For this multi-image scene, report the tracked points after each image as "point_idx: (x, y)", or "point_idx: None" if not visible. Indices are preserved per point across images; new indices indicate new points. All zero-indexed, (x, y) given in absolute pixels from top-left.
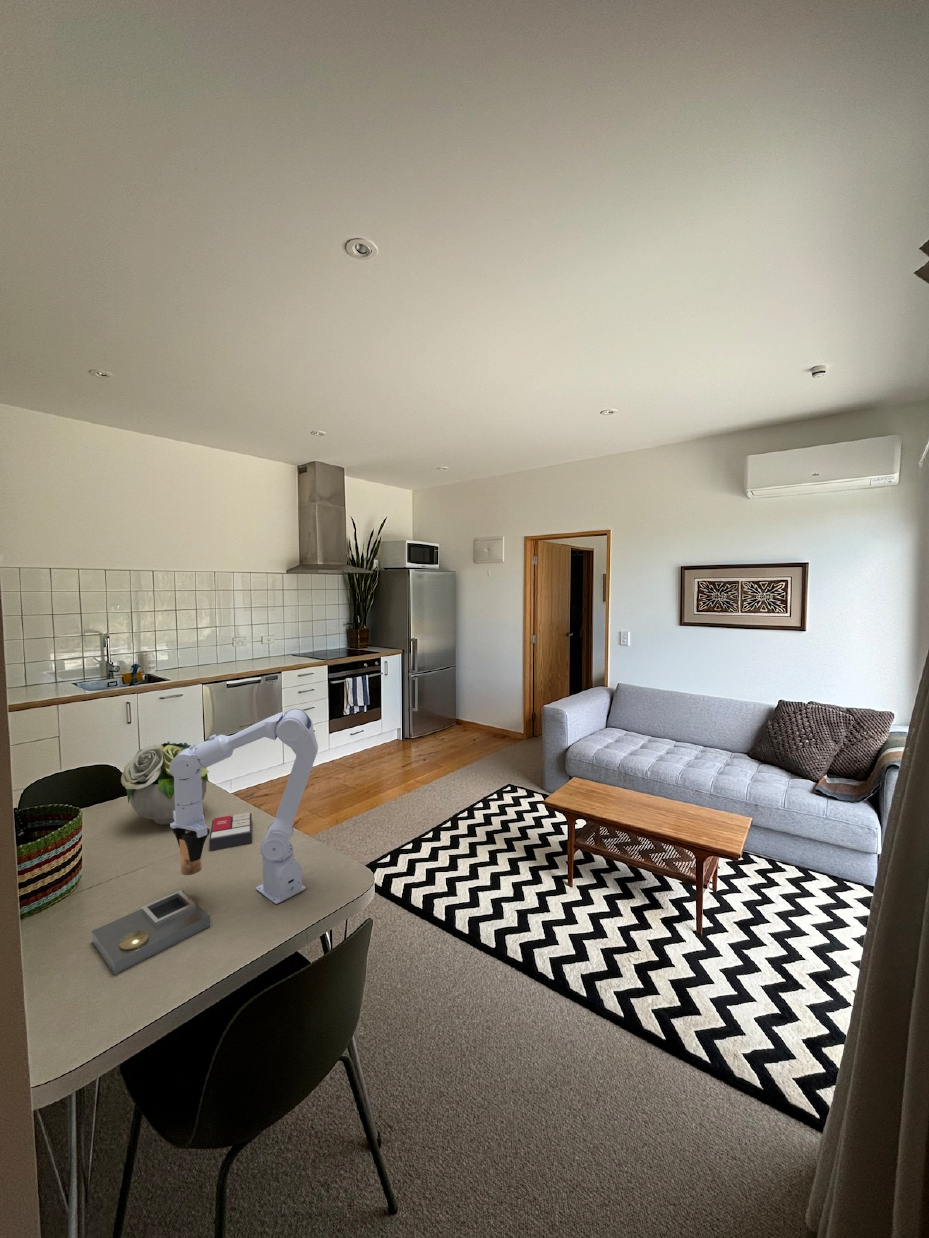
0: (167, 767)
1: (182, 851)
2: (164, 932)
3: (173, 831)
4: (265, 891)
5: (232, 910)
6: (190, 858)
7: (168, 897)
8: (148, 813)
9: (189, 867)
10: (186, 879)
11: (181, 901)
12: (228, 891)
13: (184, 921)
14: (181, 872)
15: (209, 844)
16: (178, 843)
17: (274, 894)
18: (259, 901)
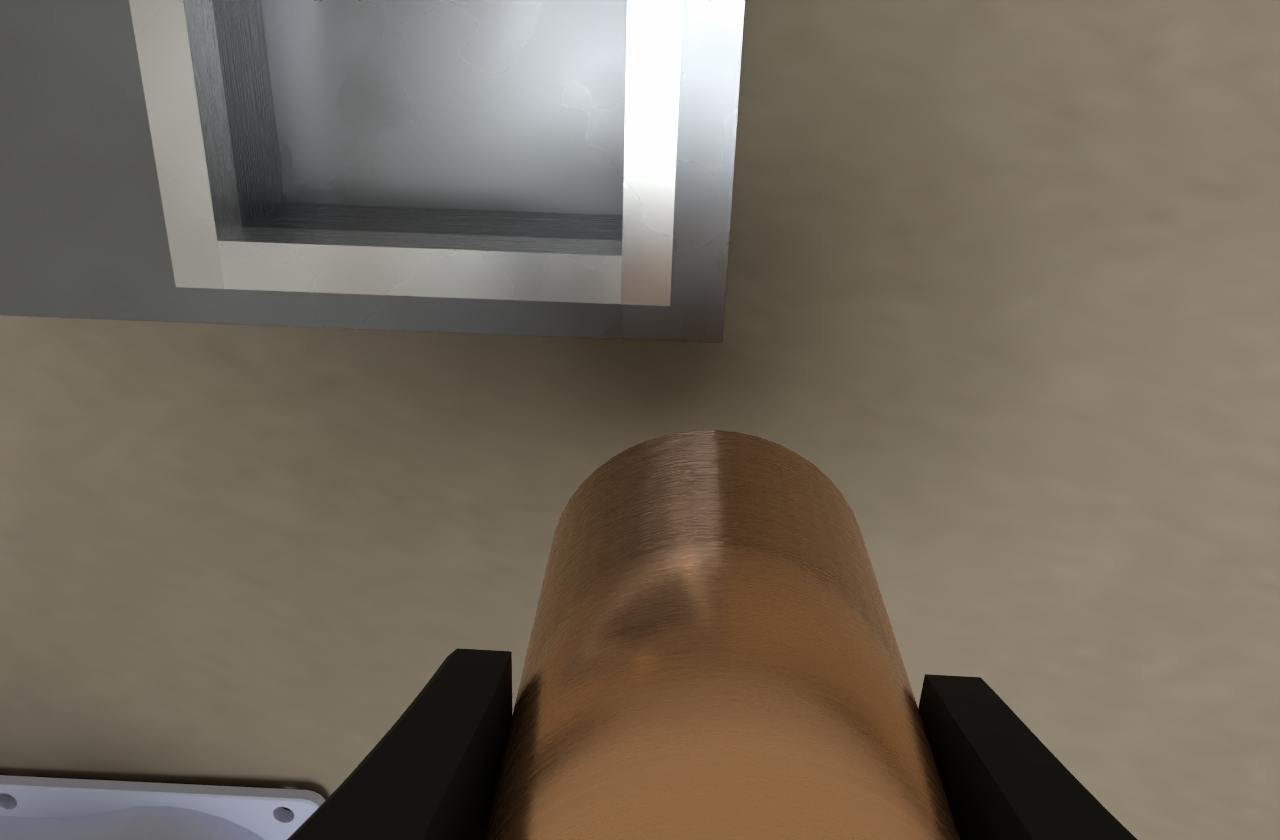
0: None
1: (642, 721)
2: None
3: None
4: (154, 818)
5: (146, 523)
6: (428, 690)
7: (627, 123)
8: None
9: (558, 563)
10: (1108, 502)
11: (522, 232)
12: (499, 644)
13: (2, 54)
14: (715, 440)
15: None
16: (1101, 837)
17: (32, 836)
18: (119, 720)
